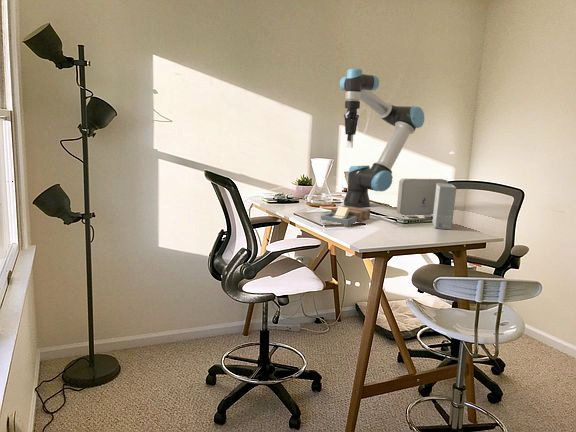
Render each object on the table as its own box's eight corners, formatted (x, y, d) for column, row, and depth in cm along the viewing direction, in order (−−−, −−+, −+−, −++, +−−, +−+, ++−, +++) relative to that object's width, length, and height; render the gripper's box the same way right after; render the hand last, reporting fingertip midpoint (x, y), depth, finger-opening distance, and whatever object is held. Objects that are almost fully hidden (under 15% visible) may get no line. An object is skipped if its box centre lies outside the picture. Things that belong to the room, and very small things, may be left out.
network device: (401, 219, 237) (405, 180, 233) (393, 215, 245) (397, 177, 241) (446, 218, 243) (450, 180, 239) (437, 215, 251) (441, 178, 247)
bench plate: (344, 215, 241) (345, 205, 240) (369, 219, 234) (370, 209, 233) (330, 219, 229) (331, 209, 228) (356, 223, 221) (357, 213, 220)
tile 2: (340, 209, 226) (338, 206, 224) (349, 210, 223) (348, 207, 221) (336, 217, 224) (335, 214, 222) (345, 219, 221) (344, 216, 219)
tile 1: (330, 217, 218) (330, 222, 219) (340, 218, 215) (339, 223, 216) (335, 215, 222) (335, 220, 223) (344, 217, 220) (344, 222, 220)
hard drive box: (451, 230, 216) (456, 187, 212) (434, 228, 218) (439, 186, 214) (447, 223, 231) (452, 183, 227) (431, 222, 233) (435, 182, 229)
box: (330, 219, 229) (330, 212, 228) (356, 223, 221) (357, 216, 220) (320, 222, 220) (320, 215, 220) (347, 227, 213) (347, 219, 212)
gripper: (351, 101, 244) (348, 146, 249) (340, 99, 233) (337, 147, 238) (364, 101, 240) (361, 147, 245) (353, 99, 230) (350, 148, 234)
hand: (349, 147), depth 242 cm, fingers closed
